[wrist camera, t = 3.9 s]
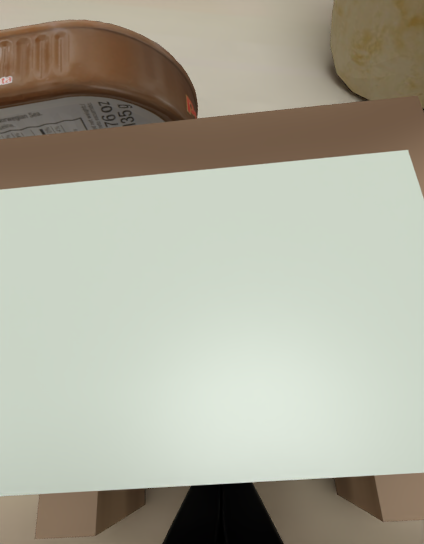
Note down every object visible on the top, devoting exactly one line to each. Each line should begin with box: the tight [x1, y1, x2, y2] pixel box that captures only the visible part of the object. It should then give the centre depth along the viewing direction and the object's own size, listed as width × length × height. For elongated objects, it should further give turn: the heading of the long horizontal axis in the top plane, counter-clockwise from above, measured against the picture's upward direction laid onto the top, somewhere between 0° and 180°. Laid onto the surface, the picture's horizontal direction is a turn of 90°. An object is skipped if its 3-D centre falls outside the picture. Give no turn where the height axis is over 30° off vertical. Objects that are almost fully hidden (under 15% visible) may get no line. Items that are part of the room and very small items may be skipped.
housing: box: [0, 96, 424, 539], centre depth 11 cm, size 9×10×9 cm
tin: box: [0, 20, 198, 139], centre depth 16 cm, size 15×3×8 cm, turn 98°
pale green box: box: [0, 150, 424, 496], centre depth 10 cm, size 4×6×11 cm
